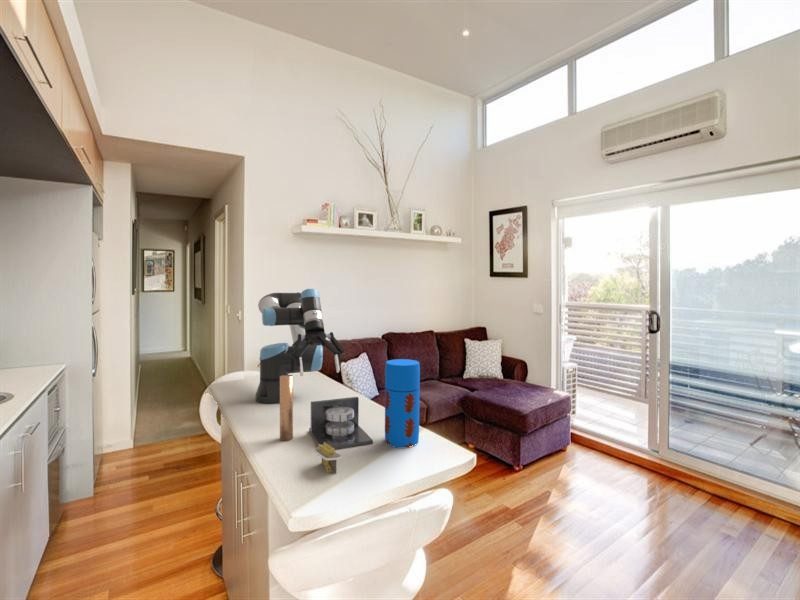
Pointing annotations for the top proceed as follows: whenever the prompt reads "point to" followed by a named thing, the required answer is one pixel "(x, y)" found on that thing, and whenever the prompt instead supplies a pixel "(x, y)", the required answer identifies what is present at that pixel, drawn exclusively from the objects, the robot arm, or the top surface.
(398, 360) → the thermos
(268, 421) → the top surface
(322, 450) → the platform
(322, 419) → the collar stand
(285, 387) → the copper tube
